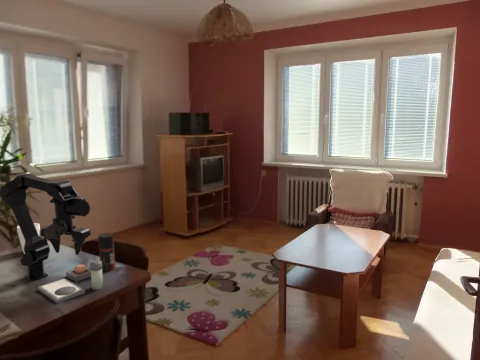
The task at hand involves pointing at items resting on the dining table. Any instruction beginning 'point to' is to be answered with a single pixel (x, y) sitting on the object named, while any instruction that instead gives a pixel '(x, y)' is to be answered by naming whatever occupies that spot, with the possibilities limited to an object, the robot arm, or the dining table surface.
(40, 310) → the dining table surface
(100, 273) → the knob
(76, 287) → the board
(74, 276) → the button housing
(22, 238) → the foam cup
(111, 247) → the deodorant
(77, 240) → the robot arm
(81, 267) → the button
